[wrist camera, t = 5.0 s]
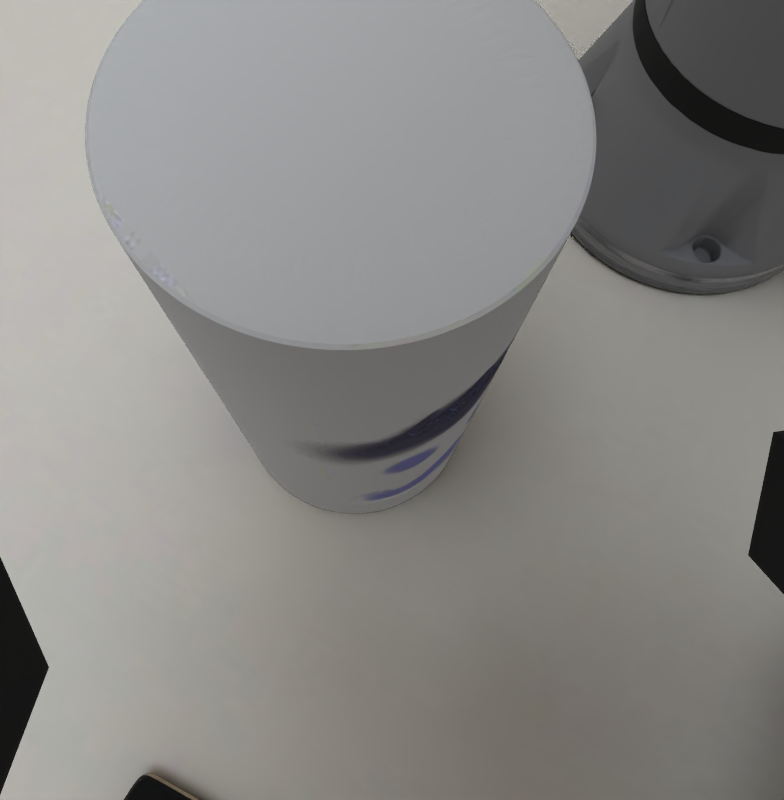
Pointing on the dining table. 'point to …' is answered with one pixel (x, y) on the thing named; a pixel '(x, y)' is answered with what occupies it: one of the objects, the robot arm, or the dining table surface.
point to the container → (343, 213)
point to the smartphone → (156, 790)
